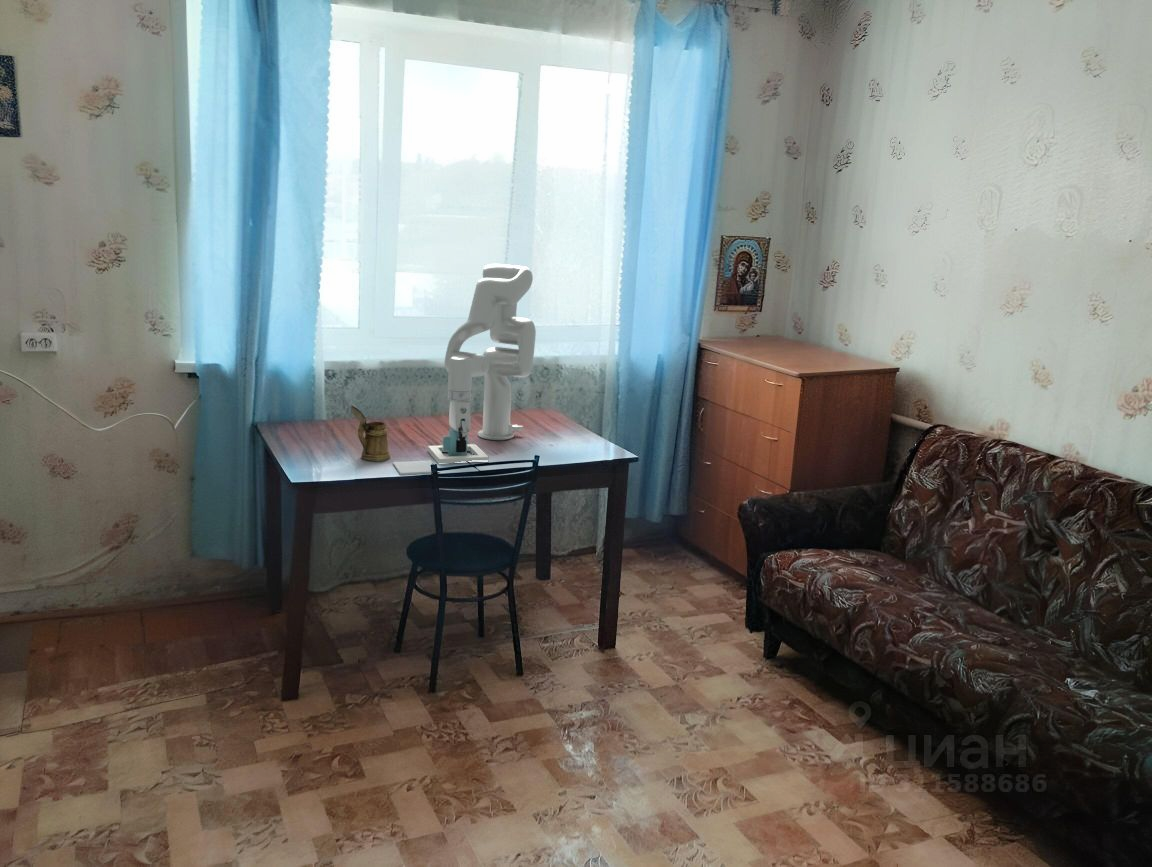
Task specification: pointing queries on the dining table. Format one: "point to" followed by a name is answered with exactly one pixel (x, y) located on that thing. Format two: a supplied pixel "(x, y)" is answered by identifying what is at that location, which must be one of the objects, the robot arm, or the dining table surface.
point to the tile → (413, 467)
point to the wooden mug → (372, 438)
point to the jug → (453, 443)
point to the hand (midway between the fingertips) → (458, 448)
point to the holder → (440, 458)
